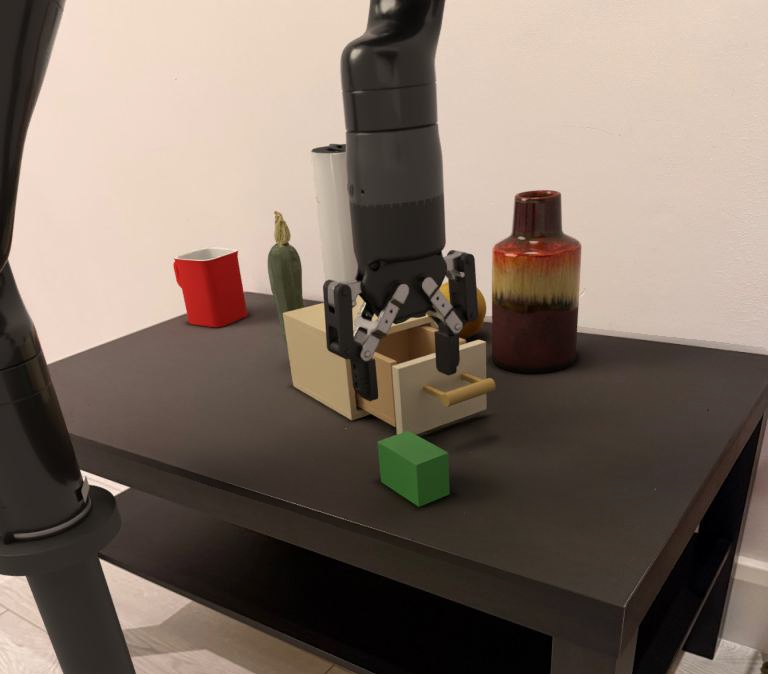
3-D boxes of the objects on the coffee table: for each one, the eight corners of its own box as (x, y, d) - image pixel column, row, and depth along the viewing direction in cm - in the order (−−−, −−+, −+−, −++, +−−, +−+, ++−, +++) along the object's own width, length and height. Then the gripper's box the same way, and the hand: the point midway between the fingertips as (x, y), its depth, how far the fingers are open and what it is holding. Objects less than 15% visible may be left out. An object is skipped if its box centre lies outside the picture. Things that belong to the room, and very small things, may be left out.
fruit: (424, 349, 107) (421, 292, 103) (425, 331, 114) (422, 277, 110) (488, 346, 107) (487, 288, 102) (485, 328, 113) (484, 273, 109)
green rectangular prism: (450, 494, 72) (448, 452, 70) (418, 507, 70) (416, 464, 68) (410, 470, 77) (408, 430, 74) (380, 481, 75) (377, 441, 73)
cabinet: (439, 391, 94) (436, 314, 89) (351, 420, 88) (343, 339, 83) (374, 362, 105) (368, 291, 100) (293, 386, 99) (282, 312, 94)
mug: (253, 314, 129) (242, 249, 124) (219, 329, 123) (206, 261, 118) (202, 308, 135) (189, 245, 130) (167, 321, 129) (152, 256, 124)
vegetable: (312, 369, 104) (292, 213, 94) (280, 371, 104) (257, 216, 94) (315, 358, 108) (295, 207, 97) (284, 360, 108) (261, 210, 98)
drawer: (515, 422, 83) (515, 352, 79) (429, 454, 78) (425, 381, 74) (416, 377, 96) (413, 316, 92) (338, 402, 91) (331, 338, 87)
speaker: (388, 345, 110) (373, 145, 97) (320, 344, 113) (296, 149, 99) (406, 322, 119) (394, 136, 105) (342, 322, 121) (323, 140, 108)
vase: (509, 342, 107) (510, 186, 97) (585, 349, 103) (595, 186, 92) (479, 368, 99) (477, 201, 89) (561, 378, 95) (569, 202, 84)
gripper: (343, 211, 54) (364, 421, 63) (496, 180, 61) (497, 375, 69) (293, 201, 60) (319, 395, 68) (439, 174, 66) (446, 354, 74)
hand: (408, 385), depth 69 cm, fingers open, 8 cm apart
